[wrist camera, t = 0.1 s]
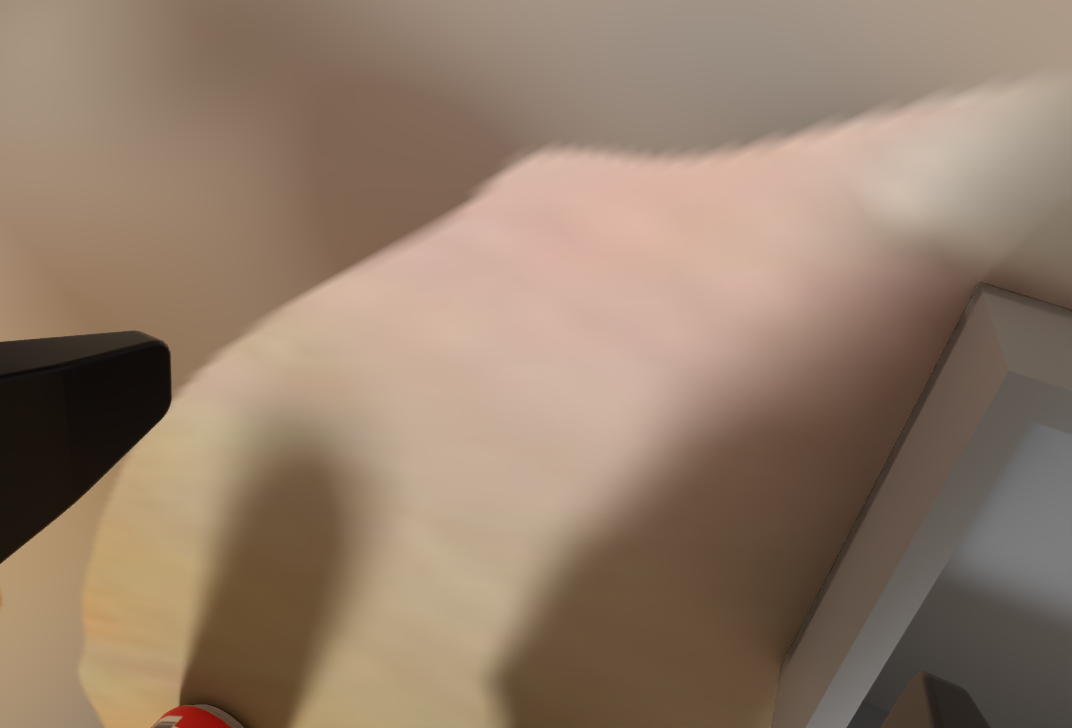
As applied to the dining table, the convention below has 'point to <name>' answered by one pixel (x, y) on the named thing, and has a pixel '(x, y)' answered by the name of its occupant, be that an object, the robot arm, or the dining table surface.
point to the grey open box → (958, 541)
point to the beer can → (197, 718)
